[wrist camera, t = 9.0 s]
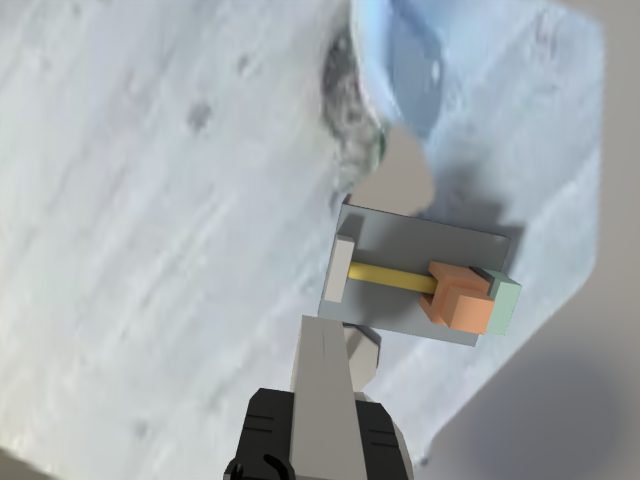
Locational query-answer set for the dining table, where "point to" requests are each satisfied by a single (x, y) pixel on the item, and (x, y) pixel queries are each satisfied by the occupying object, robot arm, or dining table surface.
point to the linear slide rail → (408, 272)
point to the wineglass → (368, 377)
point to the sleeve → (458, 299)
